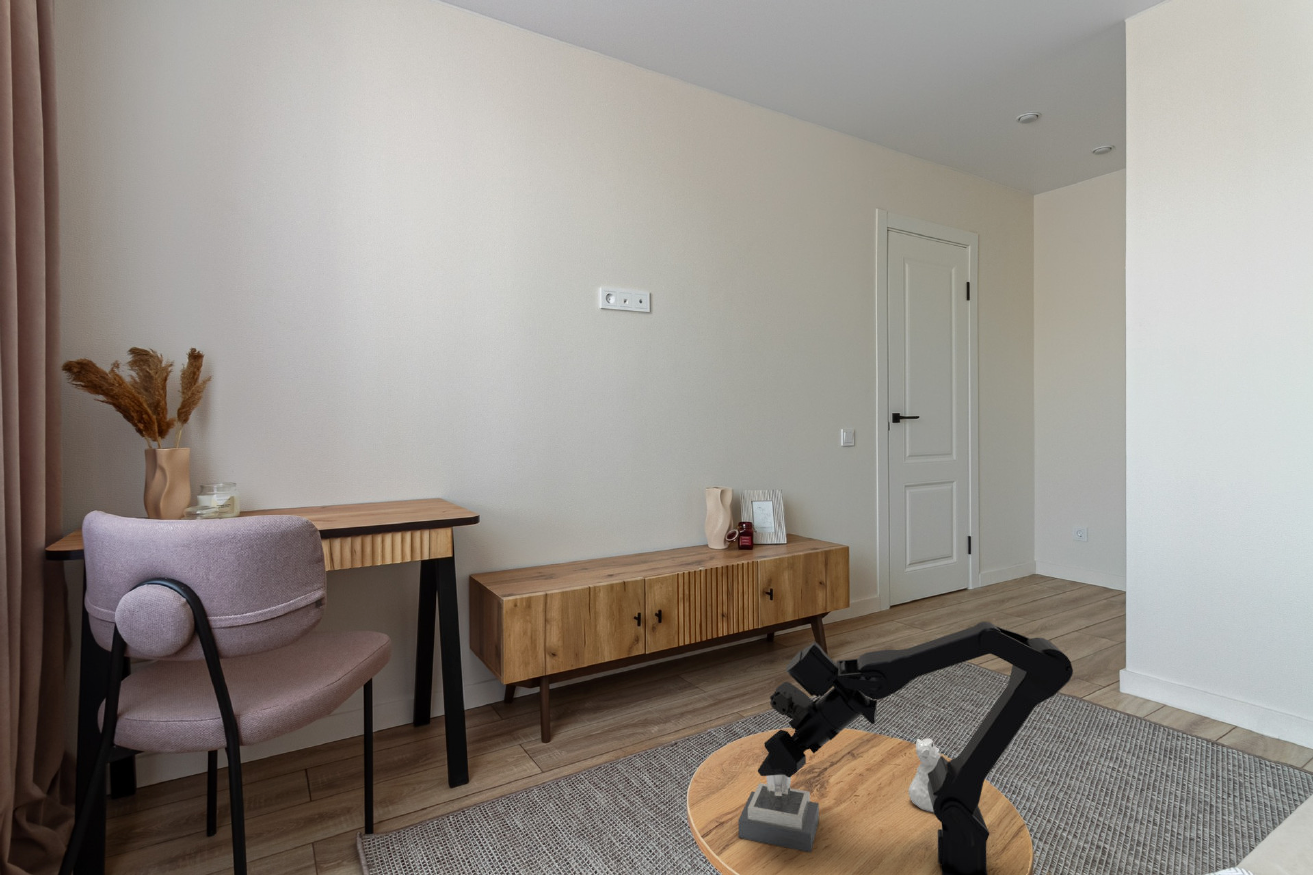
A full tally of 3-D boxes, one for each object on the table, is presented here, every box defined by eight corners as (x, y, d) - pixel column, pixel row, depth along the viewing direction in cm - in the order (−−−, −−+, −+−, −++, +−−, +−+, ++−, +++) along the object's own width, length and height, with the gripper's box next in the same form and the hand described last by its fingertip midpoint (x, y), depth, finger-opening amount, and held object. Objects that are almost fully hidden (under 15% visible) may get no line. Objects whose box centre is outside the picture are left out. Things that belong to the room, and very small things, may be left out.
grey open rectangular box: (818, 820, 121) (818, 791, 121) (810, 852, 112) (810, 821, 112) (751, 807, 125) (751, 780, 125) (738, 837, 116) (738, 808, 116)
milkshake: (796, 820, 116) (796, 762, 116) (764, 816, 117) (764, 759, 117) (796, 805, 120) (796, 749, 120) (766, 801, 121) (765, 746, 121)
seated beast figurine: (966, 821, 121) (966, 753, 121) (916, 819, 121) (915, 751, 121) (949, 793, 130) (948, 730, 130) (902, 791, 131) (901, 728, 131)
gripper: (820, 657, 124) (766, 705, 130) (775, 688, 109) (715, 741, 115) (864, 711, 119) (805, 757, 126) (823, 751, 104) (758, 802, 111)
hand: (771, 762), depth 119 cm, fingers open, 9 cm apart
